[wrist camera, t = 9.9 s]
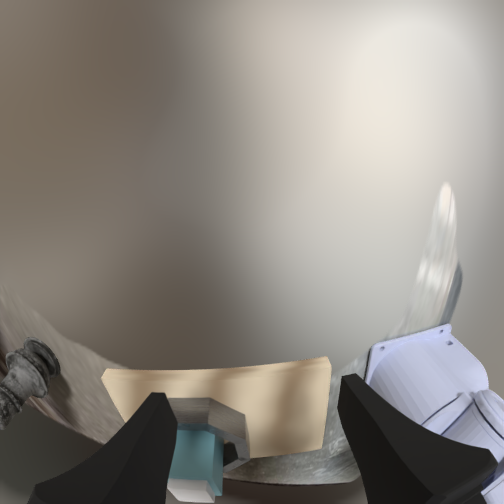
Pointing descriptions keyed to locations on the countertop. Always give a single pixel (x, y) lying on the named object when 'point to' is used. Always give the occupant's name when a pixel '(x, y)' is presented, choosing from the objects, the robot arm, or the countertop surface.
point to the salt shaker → (26, 377)
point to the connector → (197, 467)
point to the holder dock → (238, 404)
